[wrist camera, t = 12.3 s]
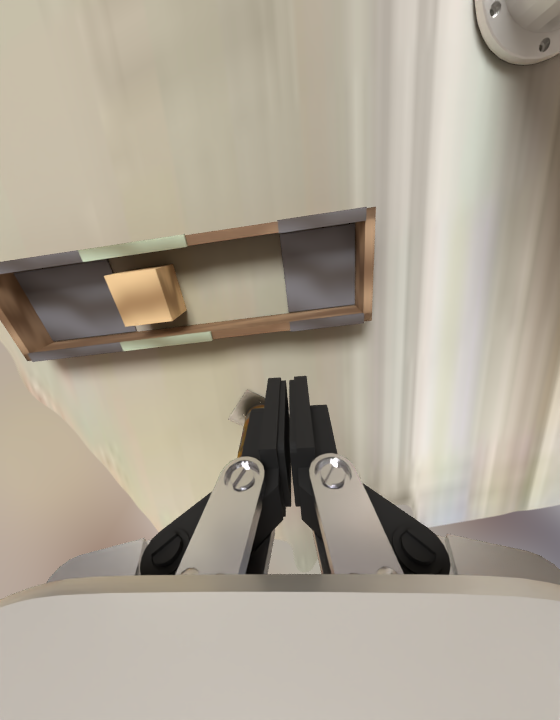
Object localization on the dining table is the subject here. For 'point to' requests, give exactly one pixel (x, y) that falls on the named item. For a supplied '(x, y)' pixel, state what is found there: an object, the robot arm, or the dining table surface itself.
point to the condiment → (245, 413)
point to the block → (147, 295)
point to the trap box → (101, 317)
